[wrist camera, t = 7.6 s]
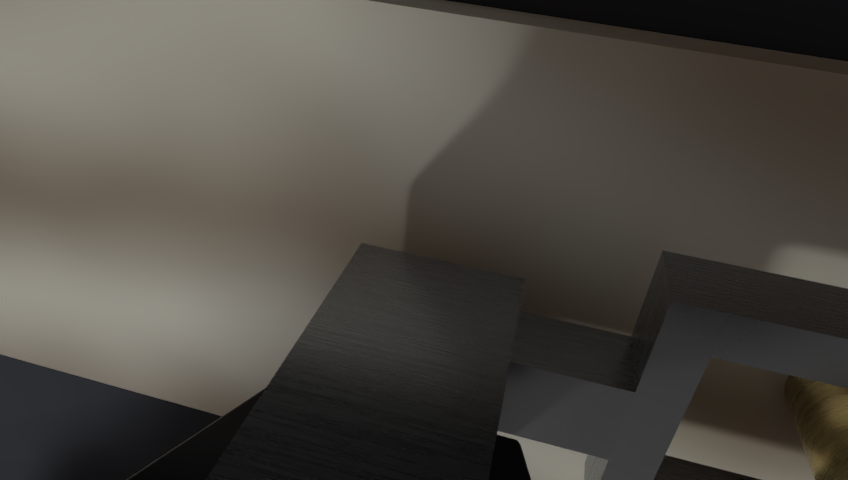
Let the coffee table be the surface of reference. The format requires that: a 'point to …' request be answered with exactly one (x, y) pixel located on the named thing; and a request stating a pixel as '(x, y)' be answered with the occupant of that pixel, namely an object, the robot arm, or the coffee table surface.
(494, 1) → the coffee table surface
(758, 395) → the tie-down board
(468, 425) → the end link
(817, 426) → the keeper post
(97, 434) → the coffee table surface
